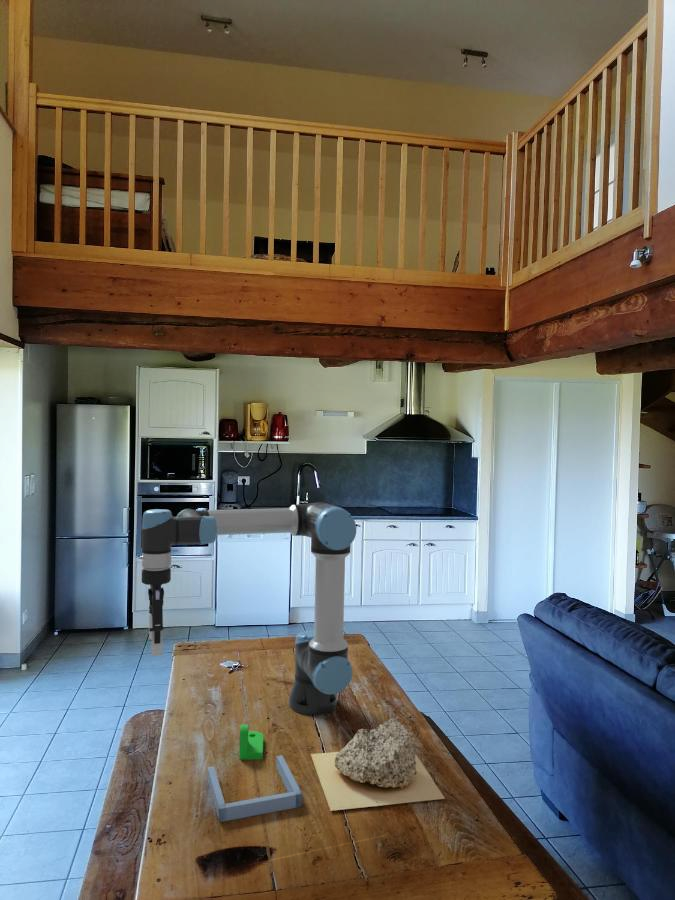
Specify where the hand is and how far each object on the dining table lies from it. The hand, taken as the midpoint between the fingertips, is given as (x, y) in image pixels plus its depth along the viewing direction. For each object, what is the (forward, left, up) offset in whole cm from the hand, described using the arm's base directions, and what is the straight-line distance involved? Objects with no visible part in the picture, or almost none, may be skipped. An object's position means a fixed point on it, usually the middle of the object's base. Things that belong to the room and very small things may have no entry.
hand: (155, 646), depth 169 cm
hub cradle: (-21, +28, -28) cm, 45 cm away
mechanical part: (-25, +7, -28) cm, 39 cm away
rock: (-51, +28, -32) cm, 67 cm away
